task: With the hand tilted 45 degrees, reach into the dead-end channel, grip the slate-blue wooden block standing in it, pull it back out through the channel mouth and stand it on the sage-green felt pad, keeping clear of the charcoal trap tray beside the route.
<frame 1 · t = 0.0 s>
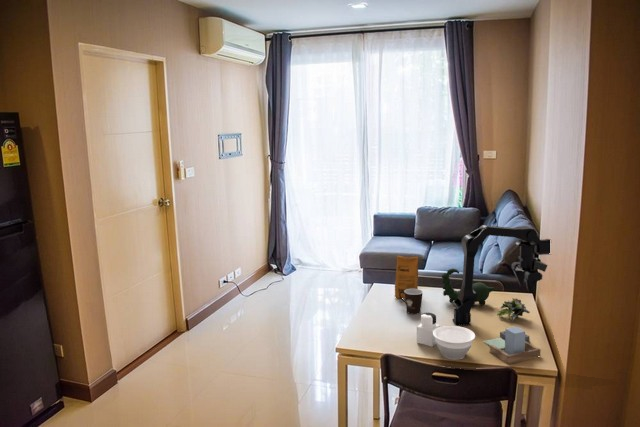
hand: (525, 289, 219), 15 cm above the table, tool pointing down, fingers open, 9 cm apart
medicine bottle: (428, 342, 204), on the table
pad: (498, 344, 199), on the table
trap tray: (514, 338, 203), on the table
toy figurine: (467, 304, 244), on the table
green leafy cluster: (512, 319, 223), on the table
block: (514, 342, 189), in the channel
coffee mug: (411, 310, 238), on the table
bowl: (453, 354, 192), on the table
channel: (514, 354, 190), on the table
coffee package: (406, 297, 257), on the table
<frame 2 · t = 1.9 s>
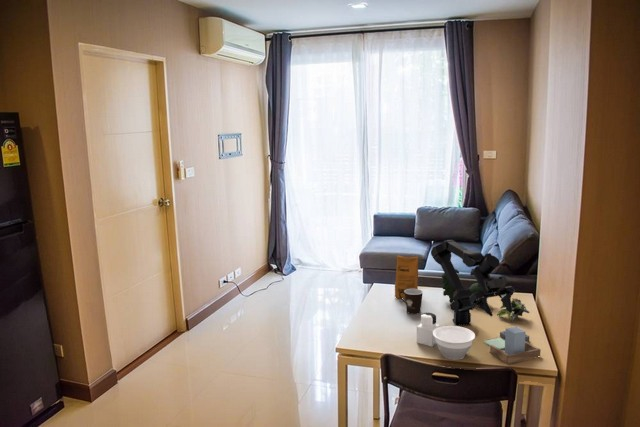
hand: (501, 314, 195), 13 cm above the table, tool tilted 45°, fingers open, 9 cm apart
nothing on the table moved.
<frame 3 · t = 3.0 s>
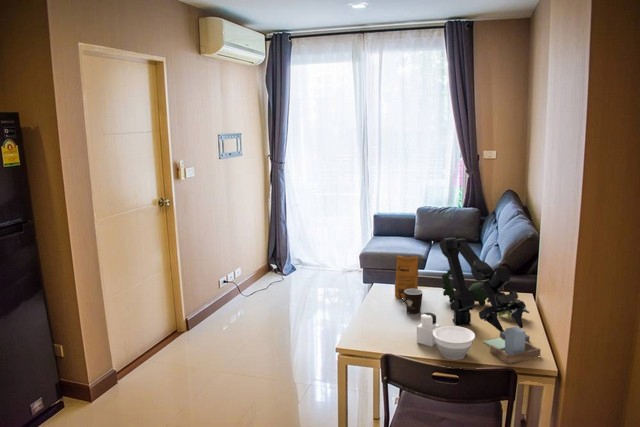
hand: (512, 330, 190), 9 cm above the table, tool tilted 45°, fingers open, 9 cm apart
nothing on the table moved.
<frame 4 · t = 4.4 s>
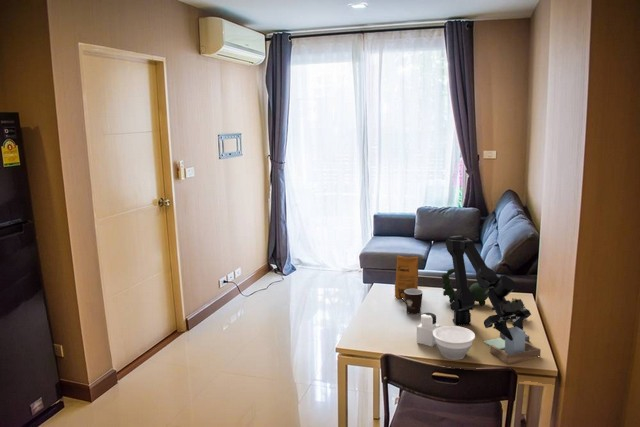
hand: (517, 339, 187), 7 cm above the table, tool tilted 45°, fingers closed on block, 5 cm apart
block: (514, 342, 189), in the channel, touching gripper
everything else where it was.
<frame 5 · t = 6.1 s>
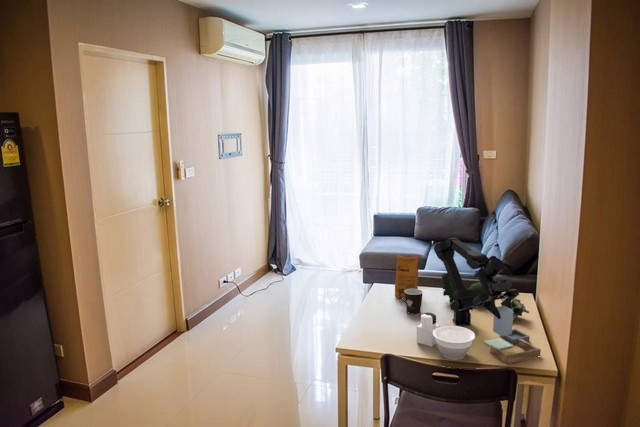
hand: (505, 317, 193), 13 cm above the table, tool tilted 45°, fingers closed on block, 5 cm apart
block: (502, 320, 195), point 11 cm above the table, touching gripper
everything else where it was.
when the fingers open (9 cm above the table, at t = 7.8 s): block drops 1 cm, resting on pad.
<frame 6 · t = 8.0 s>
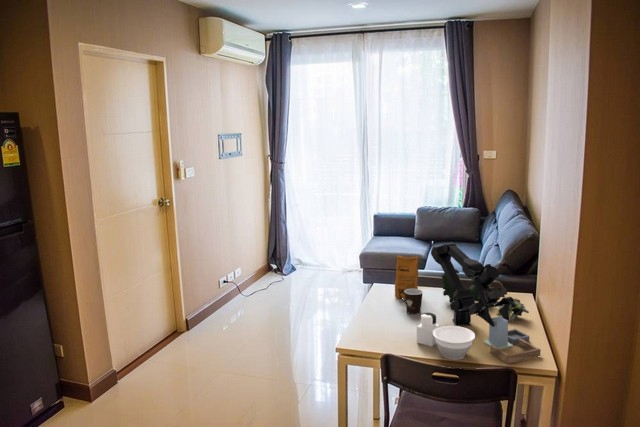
hand: (501, 324, 196), 9 cm above the table, tool tilted 45°, fingers open, 7 cm apart
block: (498, 331, 198), on the pad, point 6 cm above the table
everything else where it was.
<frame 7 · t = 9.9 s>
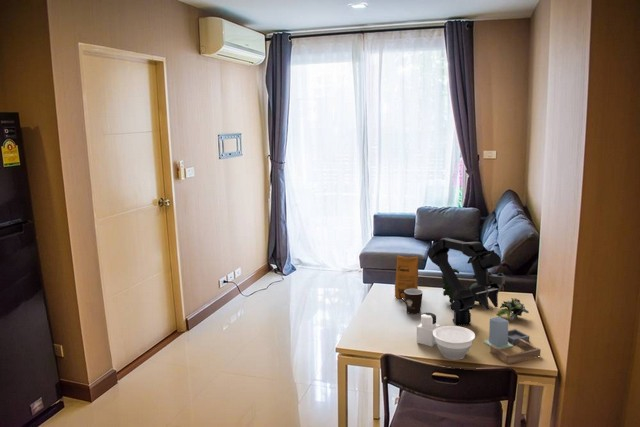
hand: (492, 308, 203), 13 cm above the table, tool tilted 25°, fingers open, 9 cm apart
nothing on the table moved.
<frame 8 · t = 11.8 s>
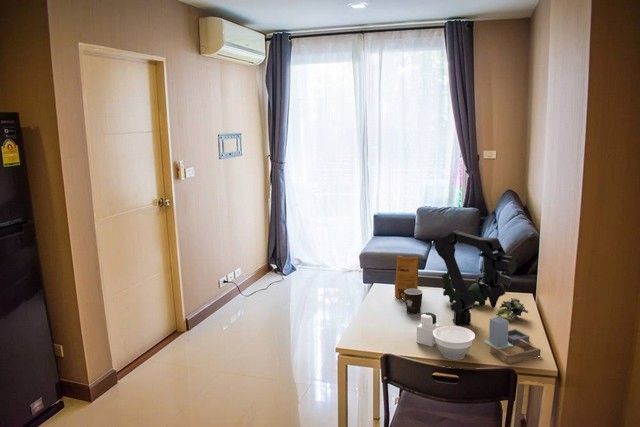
hand: (489, 304, 207), 13 cm above the table, tool pointing down, fingers open, 9 cm apart
nothing on the table moved.
at the end: block inside the target area on the pad (0.0 cm from its centre), point 5.6 cm above the pad's base; block tilted 0°; the gripper is holding nothing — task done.
